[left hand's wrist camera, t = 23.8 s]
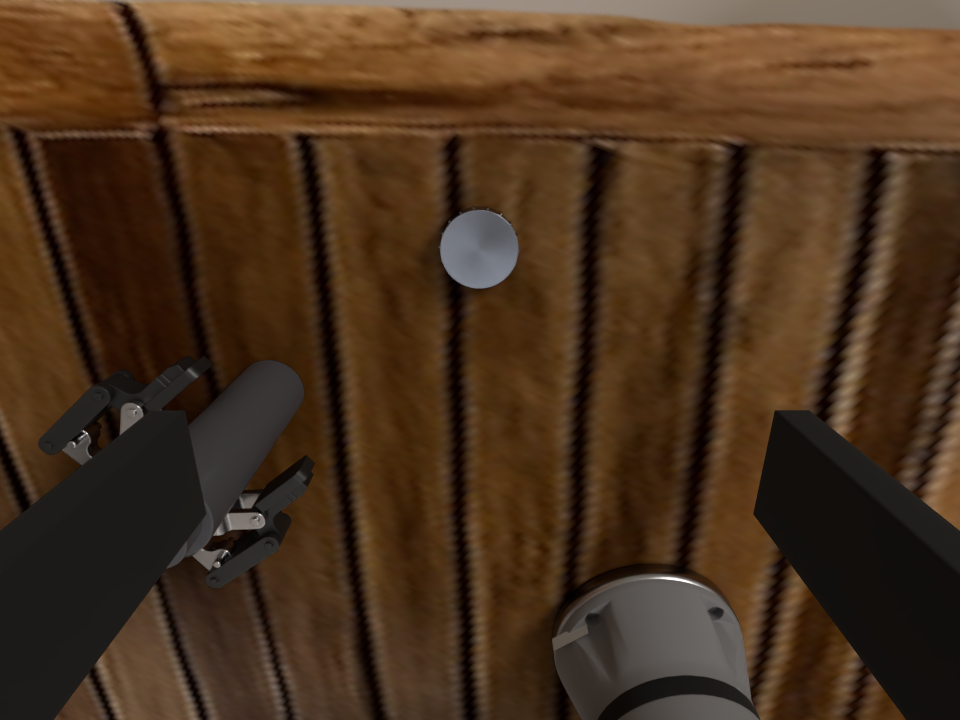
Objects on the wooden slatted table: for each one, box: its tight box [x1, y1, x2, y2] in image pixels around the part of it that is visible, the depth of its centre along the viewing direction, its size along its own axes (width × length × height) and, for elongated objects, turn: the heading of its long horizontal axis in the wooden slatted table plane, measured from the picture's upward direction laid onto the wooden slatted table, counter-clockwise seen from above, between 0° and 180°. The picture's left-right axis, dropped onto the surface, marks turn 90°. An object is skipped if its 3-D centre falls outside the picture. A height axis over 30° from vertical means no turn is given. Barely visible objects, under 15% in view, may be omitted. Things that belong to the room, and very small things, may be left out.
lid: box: [439, 206, 519, 289], centre depth 35 cm, size 5×5×2 cm
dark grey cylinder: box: [166, 360, 304, 569], centre depth 32 cm, size 4×4×16 cm
